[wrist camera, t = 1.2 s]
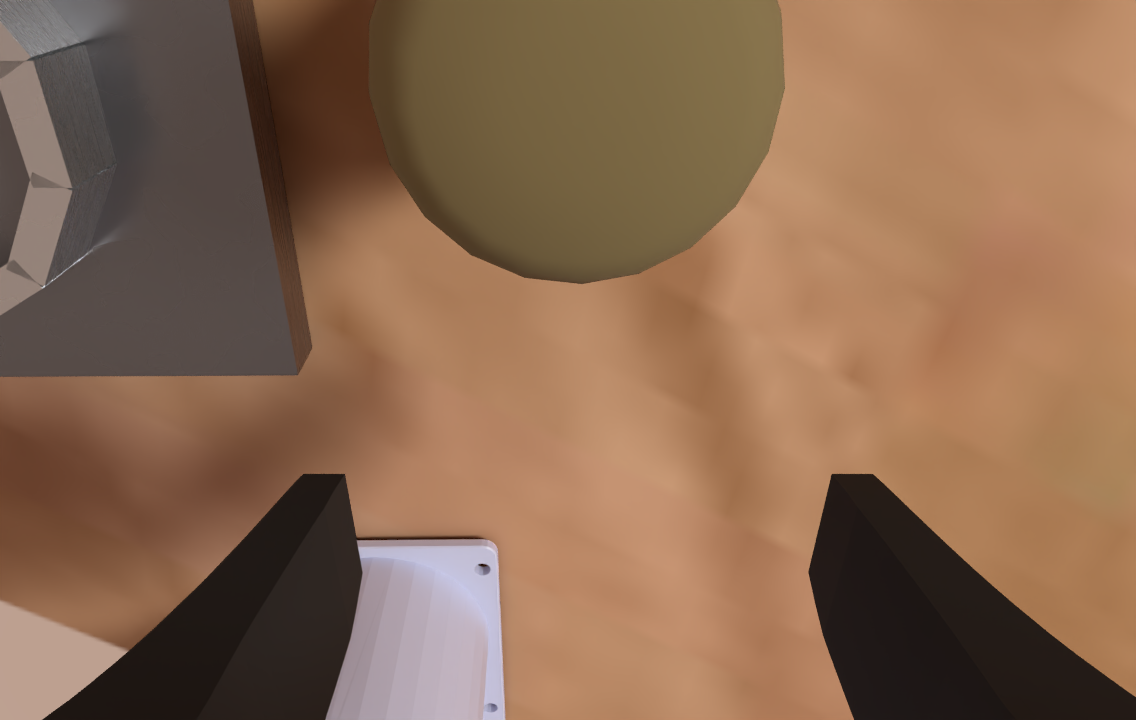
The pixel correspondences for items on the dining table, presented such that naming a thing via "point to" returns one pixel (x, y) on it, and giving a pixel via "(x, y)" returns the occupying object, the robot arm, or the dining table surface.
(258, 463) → the dining table surface
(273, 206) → the plate
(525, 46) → the cork
